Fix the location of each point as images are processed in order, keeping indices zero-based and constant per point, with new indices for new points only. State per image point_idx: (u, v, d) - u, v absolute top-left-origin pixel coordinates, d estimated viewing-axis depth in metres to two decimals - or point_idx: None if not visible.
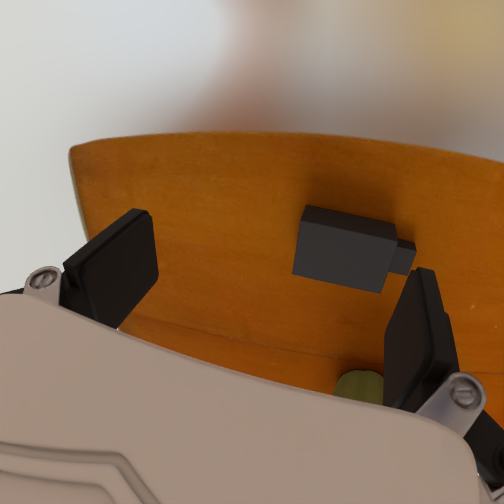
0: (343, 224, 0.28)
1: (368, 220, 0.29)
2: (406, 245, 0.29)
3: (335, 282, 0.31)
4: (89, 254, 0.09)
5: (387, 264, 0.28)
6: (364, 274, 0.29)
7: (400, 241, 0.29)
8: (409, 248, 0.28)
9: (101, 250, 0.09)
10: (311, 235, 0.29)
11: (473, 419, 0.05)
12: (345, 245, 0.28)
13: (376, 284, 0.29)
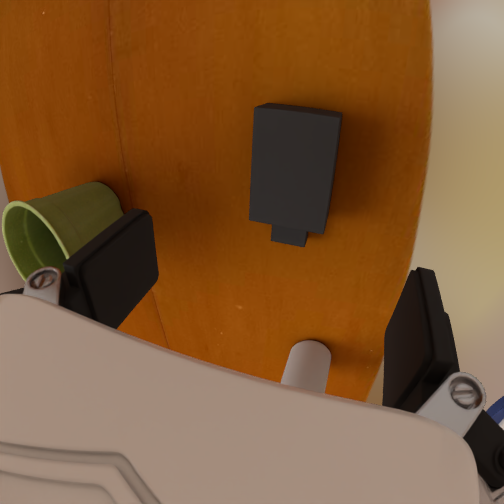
0: (334, 167, 0.22)
1: None
2: (306, 233, 0.28)
3: (254, 164, 0.23)
4: (89, 254, 0.09)
5: (291, 224, 0.25)
6: (273, 199, 0.24)
7: None
8: (305, 239, 0.27)
9: (101, 250, 0.09)
10: (319, 132, 0.21)
11: (473, 419, 0.05)
12: (311, 174, 0.22)
13: (261, 214, 0.25)
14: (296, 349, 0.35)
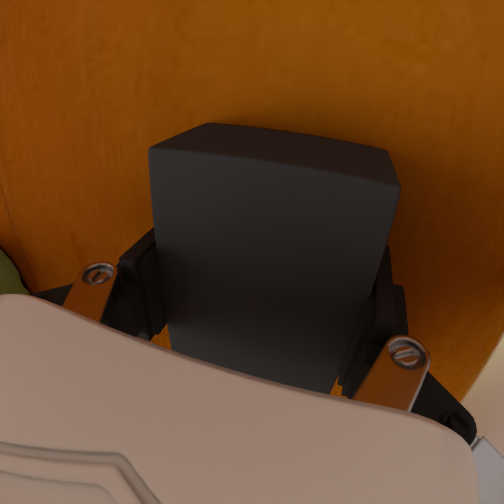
0: None
1: None
2: None
3: (166, 287, 0.10)
4: (147, 248, 0.09)
5: None
6: (217, 354, 0.11)
7: None
8: None
9: None
10: (334, 226, 0.07)
11: (422, 378, 0.06)
12: (303, 323, 0.09)
13: None
14: None
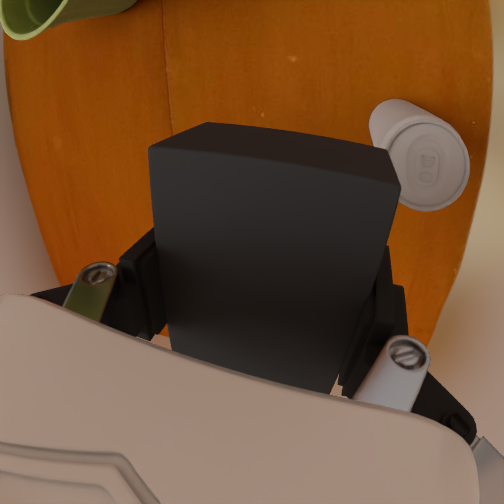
0: None
1: None
2: None
3: (165, 286, 0.10)
4: (147, 248, 0.09)
5: None
6: (217, 353, 0.11)
7: None
8: None
9: None
10: (334, 225, 0.07)
11: (422, 378, 0.06)
12: (303, 323, 0.09)
13: None
14: (380, 105, 0.21)
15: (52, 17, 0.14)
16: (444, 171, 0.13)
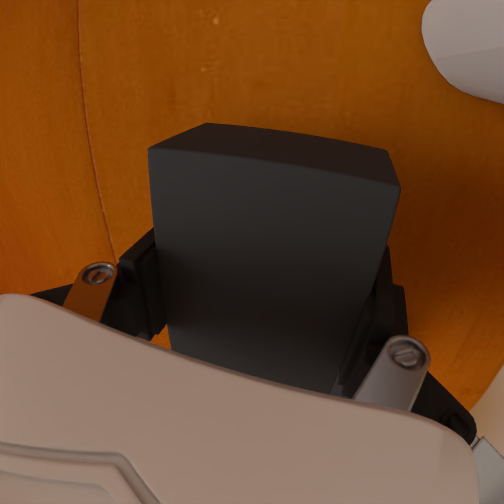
0: None
1: None
2: None
3: (165, 287, 0.10)
4: (147, 248, 0.09)
5: None
6: (217, 354, 0.11)
7: None
8: None
9: None
10: (334, 226, 0.07)
11: (422, 378, 0.06)
12: (302, 323, 0.09)
13: None
14: None
15: None
16: None
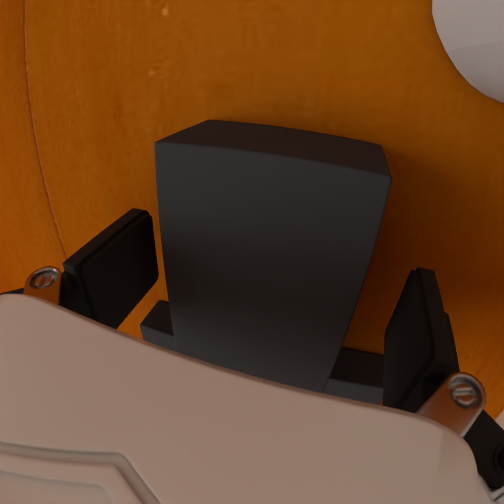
0: None
1: None
2: None
3: (169, 276, 0.10)
4: (89, 254, 0.09)
5: None
6: (218, 341, 0.11)
7: None
8: None
9: (101, 250, 0.09)
10: (329, 214, 0.08)
11: (473, 419, 0.05)
12: (301, 309, 0.09)
13: None
14: None
15: None
16: None
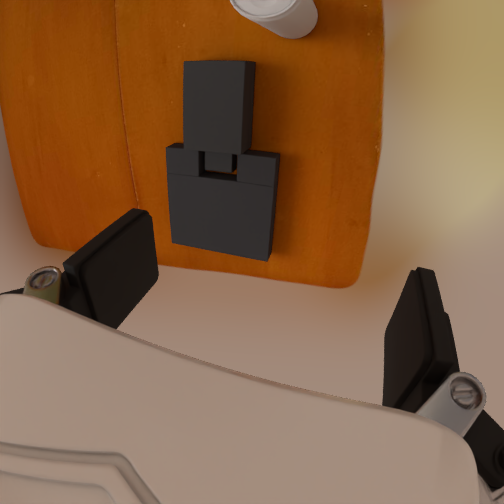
0: (246, 100, 0.27)
1: (250, 122, 0.30)
2: (233, 161, 0.33)
3: (184, 104, 0.28)
4: (90, 254, 0.09)
5: (215, 149, 0.30)
6: (200, 129, 0.29)
7: (235, 155, 0.33)
8: (232, 166, 0.32)
9: (101, 250, 0.09)
10: (231, 73, 0.25)
11: (473, 419, 0.05)
12: (227, 106, 0.27)
13: (192, 143, 0.30)
14: None
15: None
16: None
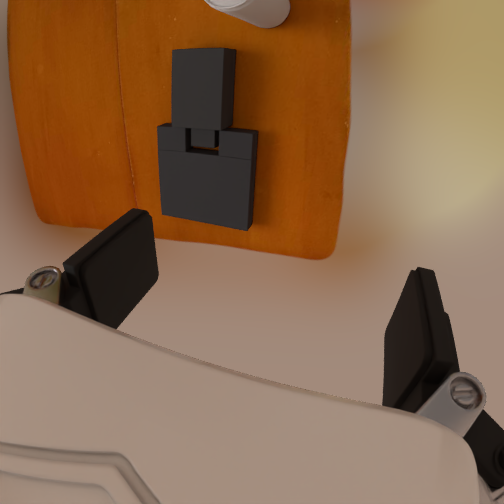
0: (226, 82, 0.30)
1: (231, 102, 0.33)
2: (216, 138, 0.35)
3: (173, 87, 0.31)
4: (89, 254, 0.09)
5: (199, 125, 0.33)
6: (186, 108, 0.32)
7: (218, 133, 0.36)
8: (214, 141, 0.35)
9: (101, 250, 0.09)
10: (212, 59, 0.28)
11: (473, 419, 0.05)
12: (208, 87, 0.30)
13: (179, 121, 0.33)
14: None
15: None
16: None
